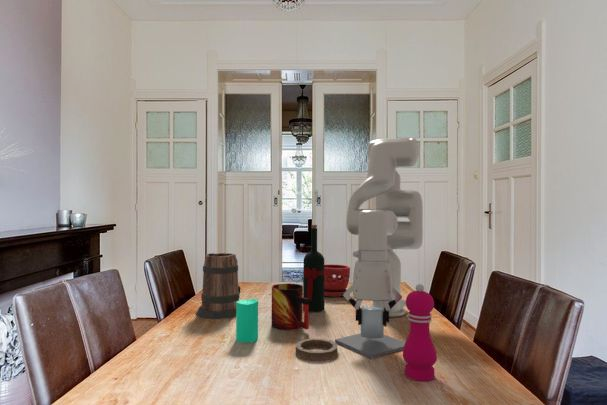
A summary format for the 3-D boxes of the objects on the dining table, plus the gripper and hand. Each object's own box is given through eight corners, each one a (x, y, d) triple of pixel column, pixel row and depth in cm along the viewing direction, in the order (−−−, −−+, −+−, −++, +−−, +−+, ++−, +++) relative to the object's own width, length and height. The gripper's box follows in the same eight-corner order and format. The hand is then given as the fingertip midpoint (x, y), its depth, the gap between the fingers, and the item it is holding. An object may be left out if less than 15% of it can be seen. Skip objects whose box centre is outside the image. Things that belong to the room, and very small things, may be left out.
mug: (307, 333, 117) (307, 292, 117) (265, 327, 122) (265, 288, 123) (319, 324, 126) (320, 286, 126) (280, 319, 131) (280, 282, 131)
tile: (372, 333, 118) (372, 330, 118) (410, 347, 106) (410, 344, 106) (335, 342, 110) (335, 339, 110) (371, 358, 98) (371, 355, 98)
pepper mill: (398, 369, 92) (398, 281, 92) (429, 368, 93) (429, 280, 93) (409, 383, 85) (409, 287, 85) (442, 382, 85) (442, 287, 85)
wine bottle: (297, 312, 139) (298, 225, 139) (306, 305, 149) (306, 224, 149) (319, 314, 137) (320, 226, 137) (327, 307, 146) (327, 224, 147)
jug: (386, 338, 105) (386, 310, 105) (364, 338, 104) (364, 311, 105) (375, 328, 115) (375, 303, 115) (354, 329, 114) (354, 304, 115)
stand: (325, 343, 109) (325, 336, 109) (345, 356, 99) (345, 349, 99) (289, 348, 105) (289, 341, 105) (306, 363, 95) (306, 355, 95)
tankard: (233, 321, 129) (233, 258, 129) (185, 317, 133) (185, 256, 133) (258, 303, 152) (258, 250, 152) (217, 300, 156) (217, 248, 156)
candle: (261, 336, 114) (261, 294, 114) (252, 343, 108) (252, 298, 108) (242, 334, 116) (242, 292, 116) (232, 341, 110) (232, 297, 110)
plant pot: (351, 298, 161) (351, 268, 161) (318, 298, 161) (318, 268, 162) (348, 291, 174) (348, 263, 174) (317, 291, 175) (317, 263, 175)
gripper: (339, 257, 105) (338, 326, 105) (407, 259, 103) (406, 330, 103) (340, 254, 113) (340, 318, 113) (404, 255, 110) (403, 321, 110)
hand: (372, 323), depth 108 cm, fingers closed on jug, 6 cm apart
